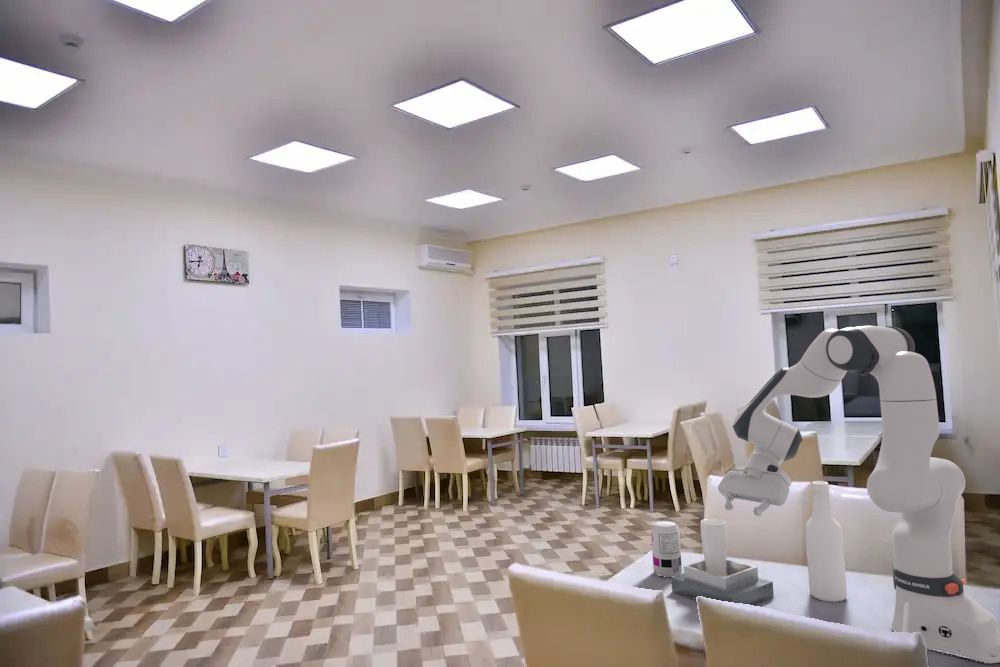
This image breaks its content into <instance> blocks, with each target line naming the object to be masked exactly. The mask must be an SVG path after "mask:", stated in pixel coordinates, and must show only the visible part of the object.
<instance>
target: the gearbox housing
mask: <svg viewBox="0 0 1000 667" xmlns="http://www.w3.org/2000/svg"><path fill="white" fill-rule="evenodd" d="M726 572H727V576H726V577H722V576H719V575H716V574H712V573H709V572H706V565H705V558H704V559H701V560H697V561H695V562H693V563H689V564H686V565H683V573H681V574H680V575H677V576H674V577H671V578H670V579H671V580H670V581H671V592H672V593H674V592H675V593H674V594H676V593H677V595H679V594H680V595H679V596H682V597H685V596H686V598H688V597H689V599H691V598H695V600H694V601H696V597H697V596H703V597H706V598H711V599H716V600H721V601H728V602H734V603H743V604H750V605H753V606H754V605H755V606H756V605H757V604H760V603H762V602H765V601H767V600H769V599H771V598H774V596H775V595H774V584H773V583H774V582H773V581H772V580H768V579H764V578H762V577H759V572H758V567H757V566H755V565H752V564H748V563H744V562H740V561H736V560H734V559H729V558H726Z"/></svg>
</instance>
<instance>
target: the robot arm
mask: <svg viewBox="0 0 1000 667" xmlns="http://www.w3.org/2000/svg"><path fill="white" fill-rule="evenodd" d="M915 351H916V344H915V341H914V339H913V337H912V336H911V334H910V333H909V332H907V331H906V330H904V329H902V328H900V327H896V326H889V325H887V326H878V325H877V326H876V325H860V326H859V325H858V326H853V327H852V326H849V327H844V328H840V329H839V328H827V329H825V330H823V331H822V332H820V333H819V334H818V335H817V337H816V338H815V339H814V340H813V341H812V342H811V343H810V345H809V346H808V348H807V349H806V351H805V352H804V354H803V356H802V357H801V359H800V360H799V361H798V362H797V363H796V364H794V365H792V366H790V367H782V368H781V369H779V370H778V371H777V372H776V373H775V374H773V376H771V378H770V379H769V380H768V381H767V382H766V383H765V384H764V385H763V387H761V389H760V390H759V391H758V393H756V395H755V396H754V397H753V398H752V399H751V400H750V401H749V403H747V404H746V405H745V407H743V408H742V409H741V410H740V411H739V412H738V413H737V414H736V416H735V418H734V419H733V422H732V428H733V431H734V433H735V436H736V437H737V438H738V439H741V440H743V441H746V442H749V443H751V444H753V445H754V448H753V452H752V453H751V454H750V455H749V457H748V459H747V460H746V463H745V465H744V467H743V469H738V468H733V469H731V470H728V471H727V473H726V474H725V475H724V476H723V477H722V479H721V480H720V482H719V484H718V486H717V490H718V492H719V493H720V495H722V497H725V504H724V508H725V510H727V511H733V508H734V504H732V501H734V500H735V499H737V500H742V501H749V502H754V503H760V504H759V505H758V506H754V509H753V511H752V513H753V514H754V515H755V516H758V517H761V516H762V514H763V512H765V511H766V510H768V508H770V506H771V505H772V506H777V507H781V506H783V505H784V504H786V502H787V500H788V499H787V498H788V496H789V493H790V487H791V485H792V482H793V481H792V480H791V478H790V477H789V475H788V474H787V472H786V471H785V470H784V469H783V468H782V467H781V465H782V463H783V462H787V461H789V460H792V459H795V457H796V454H797V453H798V449H799V447H800V445H801V444H802V442H803V437H802V434H801V432H800V429H799V428H797V427H795V426H794V425H792V424H790V423H788V422H786V421H784V420H781V419H779V418H777V417H775V416H772V415H771V414H769V413H767V412H765V411H764V410H765V409H766V408H767V407H768V406H769V405H770V404H771V402H773V401H774V399H775V398H777V397H778V396H779V397H780V396H785V395H789V396H798V397H804V398H814V399H815V398H822V397H826V396H829V395H830V394H832V393H833V392H834V391H835V390H836V389H837V387H838V386H839V385H840V384H841V382H842V380H844V378H845V377H846V374H847V373H848V372H849V373H854V374H857V375H860V376H867V375H869V374H871V376H873V377H874V378H875V380H876V381H877V384H878V390H879V400H880V401H879V402H880V413H881V414H880V416H881V427H882V428H881V429H882V432H881V433H882V436H881V444H880V450H879V453H878V458H877V462H876V465H875V467H874V469H873V471H872V472H871V473H870V475H869V476H868V477H867V481H866V490H867V494H868V496H869V498H870V501H872V503H873V504H874V505H875V506H876V507H878V508H879V509H881V510H882V511H884V512H888V513H895V514H896V513H897V514H900V518H899V519H898V522H897V525H896V526H895V527H894V529H893V531H892V536H891V537H892V545H893V546H892V547H893V550H892V551H893V559H894V562H893V563H894V565H893V566H892V580H893V587H894V588H893V589H894V590H895V603H894V613H893V616H892V617H893V618H892V623H891V626H890V628H891V627H892V628H893V629H894V631H896V632H909V633H913V632H917V631H918V632H921V634H922V635H923V637H924V639H925V643H926V646H927V649H926V650H928V649H929V650H928V651H931V650H932V649H935V650H940V651H943V652H949V653H953V654H958V655H962V656H966V657H969V658H973V659H975V660H977V661H981V662H984V663H983V664H987V663H988V664H997V663H1000V627H999V624H998V622H997V619H996V617H995V616H994V614H992V613H991V612H989V611H988V609H986V608H984V607H983V606H982V605H980V604H979V603H978V602H977V601H975V600H974V599H973V598H972V597H970V596H969V595H968V594H967V593H965V591H964V585H965V584H967V582H966V580H967V579H966V577H965V578H962V579H960V578H959V577H958V576H957V575H956V574H955V572H953V560H952V544H951V543H952V542H951V540H952V538H951V537H952V530H953V529H952V528H953V523H954V518H955V513H956V509H957V505H958V502H959V499H960V497H961V496H962V494H963V492H964V491H965V488H966V484H967V482H966V477H965V475H964V472H963V470H962V469H961V468H960V467H959V466H958V465H957V464H956V463H954V462H953V461H951V460H948V459H946V458H941V457H932V452H933V448H934V445H935V443H936V442H937V440H938V438H939V435H940V434H941V433H940V432H941V429H940V421H939V420H940V419H939V412H938V401H937V392H936V387H935V386H936V385H935V382H934V377H933V375H932V370H931V368H930V364H929V361H928V360H927V359H926V357H924V356H923V355H922V354H920V353H917V352H915ZM930 649H931V650H930ZM977 661H976V662H977ZM981 662H980V663H981Z"/></svg>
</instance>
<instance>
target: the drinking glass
mask: <svg viewBox="0 0 1000 667" xmlns="http://www.w3.org/2000/svg"><path fill="white" fill-rule="evenodd" d="M700 536H701V543H702V550H703V557H704V559H705V565H706V572H709V573H712V574H716V575H719V576H722V577H726V576H727V572H726V559H727V552H728V551H727V550H728V547H727V546H728V532H727V522H726V521H725V520H724V519H720V518H704V519H701V520H700Z"/></svg>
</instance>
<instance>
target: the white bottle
mask: <svg viewBox="0 0 1000 667" xmlns="http://www.w3.org/2000/svg"><path fill="white" fill-rule="evenodd" d="M811 485H812V486H811V488H812V514H811V517H809V519H808V520H807V522H806V524H805V530H804V532H805V544H806V545H805V546H806V557H807V571H808V572H807V573H808V586H809V593H810V595H811V596H812V597H813V598H814V599H816V600H818V601H821V602H826V603H827V602H829V603H840V602H843V601H845V599H846V598H847V596H848V594H847V593H848V592H847V578H846V565H845V552H844V540H843V539H844V537H843V529H842V526H841V524H840V523H839V522H838V521H837V519H836V518H834V515H833V512H832V505H831V498H830V491H829V490H830V487H829V485H830V484H829V482H828V481H825V480H816V481H813V482H811ZM839 601H840V602H839Z"/></svg>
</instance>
